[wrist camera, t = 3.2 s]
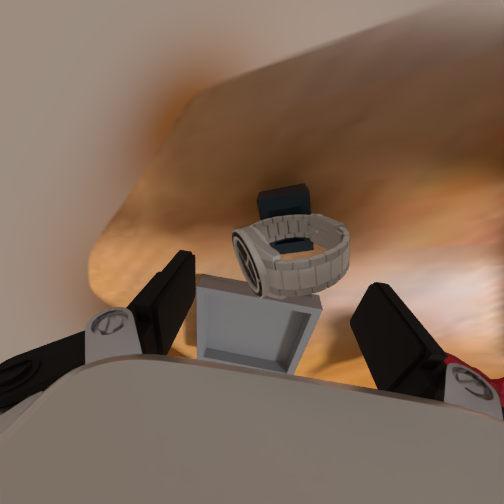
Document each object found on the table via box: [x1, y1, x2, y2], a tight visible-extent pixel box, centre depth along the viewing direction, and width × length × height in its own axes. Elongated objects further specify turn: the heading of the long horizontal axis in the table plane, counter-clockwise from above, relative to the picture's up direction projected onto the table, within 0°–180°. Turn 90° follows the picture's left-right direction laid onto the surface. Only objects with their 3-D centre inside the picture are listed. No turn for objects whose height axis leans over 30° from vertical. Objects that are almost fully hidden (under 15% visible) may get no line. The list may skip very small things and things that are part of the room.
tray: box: [196, 274, 323, 375], centre depth 28 cm, size 15×15×2 cm
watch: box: [232, 183, 350, 299], centre depth 16 cm, size 6×8×11 cm
